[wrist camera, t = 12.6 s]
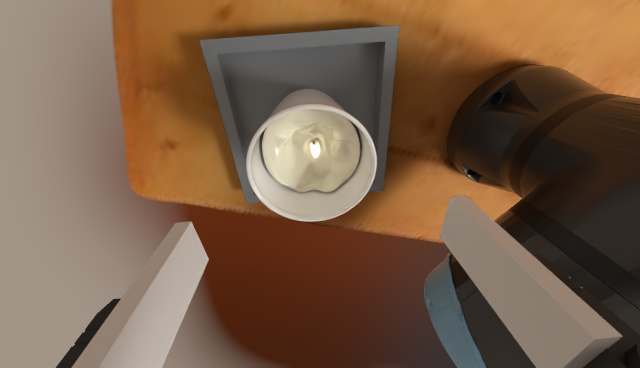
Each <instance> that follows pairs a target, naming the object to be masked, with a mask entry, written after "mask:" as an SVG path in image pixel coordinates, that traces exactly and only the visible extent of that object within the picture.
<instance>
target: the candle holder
mask: <svg viewBox="0 0 640 368" xmlns="http://www.w3.org/2000/svg"><path fill="white" fill-rule="evenodd" d="M376 168H377V156H376V150H375V146H374V143H373V141H372V138H371V137H370V135H369V133H368V132H367V130H366V129H365V127H364V126H363V125H362V124H361V123H360V122H359V121H358V120H357V119H356V118H354V117H353V116H352V115H350V114H349V113H348V112H347V111H346V110H345V109H344V108H343V107H342V106H341V105H340V104H339V103H337V102H336V101H335V100H334V99H333V98H332V97H331V96H329V95H328V94H326V93H324V92H322V91H320V90H317V89H311V88H305V89H299V90H296V91H293V92H291V93H290V94H288V95H287V96H285V97H284V98H283V99H282V100H281V101H280V102H279V103H278V105H277V106H276V107H275V109H274V110H273V112H272V113H271V114H270V116H269V117H268V118H267V120H266V121H265V122H264V123H263V124H262V125H261V126H260V128H259V129H258V130H257V132H256V133H255V135H254V136H253V138H252V140H251V142H250V145H249V148H248V151H247V157H246V171H247V176H248V180H249V183H250V185H251V187H252V189H253V191H254V193H255V194H256V196H257V197H258V198H259V199H260V201H261V202H262V203H263V204H264V205H266V206H267V207H268V208H269V209H271V210H272V211H274V212H275V213H277V214H279V215H281V216H284V217H286V218H289V219H293V220H298V221H307V222H314V221H323V220H328V219H331V218H334V217H337V216H339V215H342V214H344V213H345V212H347V211H349V210H350V209H352V208H353V207H354V206H356V205H357V204H358V203H359V202H360V201H361V200H362V199H363V198H364V196H365V195H366V194H367V192H368V191H369V189H370V187H371V185H372V183H373V180H374V178H375V174H376Z"/></svg>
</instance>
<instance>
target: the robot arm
mask: <svg viewBox="0 0 640 368" xmlns="http://www.w3.org/2000/svg"><path fill="white" fill-rule="evenodd" d="M448 154H449V157H450V160H451V162H452V164H453V165H454V167H455V168H456V169H457V170H458V171H460V172H461V173H462V174H464V175H465V176H466V177H468V178H469V179H471V180H473V181H475V182H477V183H481V184H484V185H488V186H491V187H495V188H498V189H502V190H505V191H509V192H512V193H515V194H517V195H518V196H520V197H521V198H523V199H522V200H520V201H519V202H518V203H517V204H515V205H514V206H513V207H511V208H510V209H509V210H508V211H506V212H505V213H504V214H502V215H501V216H500V217H499V218H497V219H496V220H495V221H494V220H493V219H492V218H490V217H489V216H488V215H487V214H486V213H485V212H484V211H483V210H481V209H480V208H479V207H478V206H477V205H476V204H475V203H474V202H473V201H471V200H470V199H469V198H468V197H467V196H466V195H462V196H452V197H451V198H450V201H449V205H448V208H447V212H446V216H445V219H444V223H443V226H442V230H441V233H440V237H441V239H442V240H443V241H444V243H445V244H446V246H447V247H448V248H449V250H450V251H451V253H449V254H448V255H447V257H446V259H445V260H444V261H443V262H442V263H441V264H440V265H439V266H437V267H436V268H435V269H434V270H433V271H432V272H431V273H430V274H429V275H428V277H427V279H426V281H425V286H424V294H425V301H426V305H427V308H428V311H429V313H430V318H431V321H432V323H433V326H434V328H435V330H436V332H437V334H438V336H439V338H440V340H441V342H442V344H443V346H444V348H445V349H446V351H447V352H448V354H449V356H450V357H451V359H452V360H453V362H454V363H455V365H456V366H457V368H640V98H634V97H626V96H619V95H613V94H607V93H605V92H603V91H601V90H599V89H598V88H596V87H594V86H592V85H591V84H589V83H587V82H585V81H584V80H582V79H580V78H578V77H577V76H575V75H573V74H571V73H570V72H568V71H566V70H563V69H560V68H557V67H551V66H539V65H525V66H519V67H515V68H512V69H509V70H506V71H504V72H502V73H500V74H498V75H496V76H494V77H493V78H491V79H490V80H488V81H487V82H485V83H484V84H483V85H482V86H480V87H479V88H478V89H477V90H476V91H475V92H474V93H473V94H472V95H471V96H470V97H469V98H468V99H467V100H466V102H465V103H464V104H463V106H462V107H461V108H460V110H459V112H458V113H457V115H456V117H455V119H454V121H453V123H452V126H451V129H450V132H449V136H448ZM208 260H209V259H208V256H207V254H206V252H205V250H204V248H203V246H202V244H201V241H200V239H199V237H198V235H197V233H196V231H195V229H194V226H193V224H192V222H181V223H175V224H174V226H173V227H172V229H171V230H170V231H169V233H168V234H167V235H166V237H165V238H164V240H163V241H162V243H161V244H160V245H159V247H158V248H157V249H156V251H155V252H154V254H153V255H152V257H151V258H150V259H149V261H148V262H147V263H146V265H145V266H144V268H143V269H142V270H141V272H140V273H139V275H138V276H137V277H136V279H135V280H134V282H133V283H132V284H131V286H130V287H129V289H128V290H127V291H126V293H125V294H124V295H123V297H122V298H121V299H113V300H112V301H111V302H110V303H109V304H107V305H106V306H105V307H104V308H103V309H102V310H101V311H100V312H99V313H97V315H96V316H95V317H94V319H93V320H92V321H91V322H90V324H89V325H88V326H87V328H86V329H85V332H84V333H82V334H81V335H80V337H79V338H78V339H77V341H76V342H75V345H74V346H73V347H71V348H70V350H69V351H68V352H67V354H66V355H65V356H64V358H63V359H62V360H61V362H60V363H59V364H58V366H57V367H56V368H162V366H163V363H164V361H165V359H166V356H167V354H168V352H169V349H170V347H171V345H172V343H173V340H174V338H175V336H176V333H177V331H178V329H179V327H180V324H181V322H182V320H183V317H184V315H185V313H186V311H187V308H188V306H189V304H190V301H191V299H192V297H193V295H194V292H195V290H196V288H197V285H198V283H199V281H200V278H201V276H202V274H203V271H204V269H205V267H206V265H207V262H208Z"/></svg>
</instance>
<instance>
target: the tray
mask: <svg viewBox="0 0 640 368" xmlns="http://www.w3.org/2000/svg"><path fill="white" fill-rule="evenodd" d="M398 34H399V25H396V26H382V27H369V28H355V29H342V30H328V31H315V32H301V33H287V34H274V35H260V36H247V37H233V38H220V39H206V40H199V41H200V45H201V48H202V51H203V55H204V58H205V62H206V65H207V69H208V72H209V76H210V79H211V83H212V86H213V89H214V93H215V96H216V100H217V103H218V107H219V110H220V114H221V117H222V121H223V124H224V127H225V131H226V134H227V138H228V141H229V145H230V148H231V152H232V155H233V159H234V162H235V165H236V169H237V172H238V176H239V179H240V183H241V186H242V190H243V193H244V197H245V200H246V203H247V204H251V203H261V201H260V199H259V198H258V197H257V196H256V194H255V193H254V191H253V189H252V187H251V185H250V183H249V180H248V176H247V171H246V157H247V151H248V148H249V145H250V142H251V140H252V138H253V136H254V135H255V133H256V132H257V130H258V129H259V128H260V126H261V125H262V124H263V123H264V122H265V121H266V120H267V118H268V117H269V116H270V114H271V113H272V112H273V110H274V109H275V107H276V106H277V105H278V103H279V102H280V101H281V100H282V99H283V98H284V97H285V96H287V95H288V94H290V93H291V92H293V91H296V90H299V89H305V88H311V89H317V90H320V91H322V92H324V93H326V94H328V95H329V96H331V97H332V98H333V99H334V100H335V101H336V102H337V103H339V104H340V105H341V106H342V107H343V108H344V109H345V110H346V111H347V112H348V113H349V114H350V115H352V116H353V117H354V118H356V119H357V120H358V121H359V122H360V123H361V124H362V125H363V126H364V127H365V129H366V130H367V132H368V133H369V135H370V137H371V138H372V141H373V143H374V146H375V150H376V156H377V168H376V174H375V178H374V180H373V183H372V185H371V187H370V189H369V191H368V192H374V191H383V189H384V179H385V168H386V158H387V148H388V137H389V127H390V117H391V106H392V96H393V86H394V75H395V65H396V55H397V44H398Z"/></svg>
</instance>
